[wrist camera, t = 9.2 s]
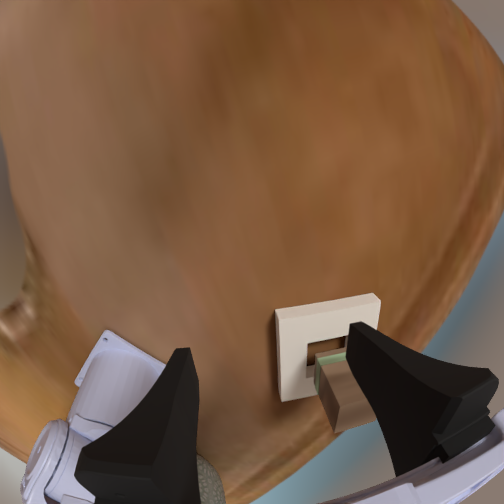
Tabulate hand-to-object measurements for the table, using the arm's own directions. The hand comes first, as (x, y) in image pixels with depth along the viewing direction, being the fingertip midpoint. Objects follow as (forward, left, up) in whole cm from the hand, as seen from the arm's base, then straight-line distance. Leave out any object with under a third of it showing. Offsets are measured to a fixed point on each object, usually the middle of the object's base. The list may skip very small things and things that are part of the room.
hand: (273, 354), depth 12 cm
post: (-2, -11, -8) cm, 14 cm away
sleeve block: (-2, -11, -10) cm, 15 cm away
